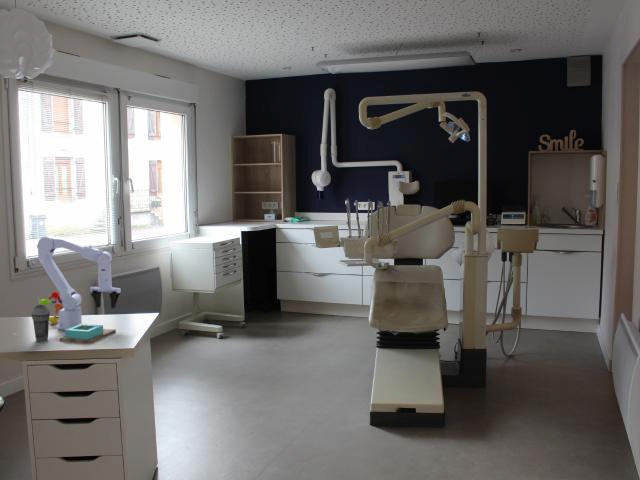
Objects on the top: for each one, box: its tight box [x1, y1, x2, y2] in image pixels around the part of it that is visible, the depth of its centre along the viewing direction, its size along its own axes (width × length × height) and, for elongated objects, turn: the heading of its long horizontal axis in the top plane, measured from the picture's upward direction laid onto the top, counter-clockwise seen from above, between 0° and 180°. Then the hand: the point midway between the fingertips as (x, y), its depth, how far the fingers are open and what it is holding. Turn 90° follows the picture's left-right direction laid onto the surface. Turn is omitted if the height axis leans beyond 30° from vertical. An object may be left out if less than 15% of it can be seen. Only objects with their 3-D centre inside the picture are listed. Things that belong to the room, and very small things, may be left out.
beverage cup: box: [30, 293, 51, 343], centre depth 269 cm, size 7×7×20 cm
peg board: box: [59, 325, 117, 344], centre depth 277 cm, size 15×19×6 cm
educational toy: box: [39, 291, 64, 325], centre depth 304 cm, size 16×13×15 cm
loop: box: [64, 323, 104, 340], centre depth 274 cm, size 11×11×4 cm
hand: (106, 307), depth 292 cm, fingers open, 7 cm apart
